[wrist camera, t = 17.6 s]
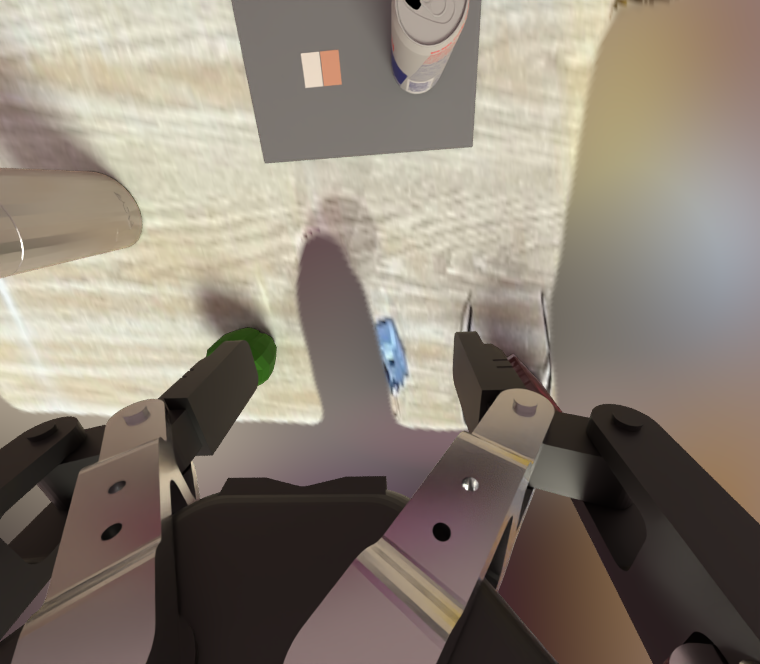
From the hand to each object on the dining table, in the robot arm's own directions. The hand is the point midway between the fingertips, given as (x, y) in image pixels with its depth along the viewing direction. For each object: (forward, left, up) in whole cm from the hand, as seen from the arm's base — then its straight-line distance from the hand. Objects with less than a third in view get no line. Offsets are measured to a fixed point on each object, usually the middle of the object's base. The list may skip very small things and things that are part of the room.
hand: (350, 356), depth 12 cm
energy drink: (+5, +17, -30) cm, 35 cm away
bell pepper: (-20, -15, -30) cm, 39 cm away
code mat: (-1, +17, -30) cm, 35 cm away
